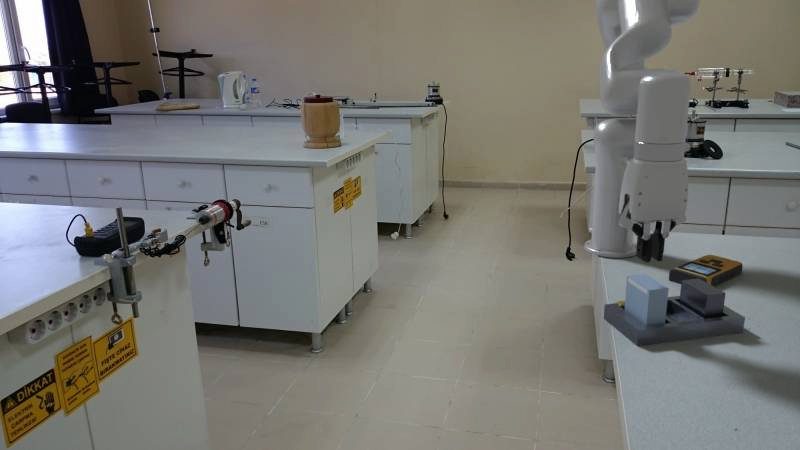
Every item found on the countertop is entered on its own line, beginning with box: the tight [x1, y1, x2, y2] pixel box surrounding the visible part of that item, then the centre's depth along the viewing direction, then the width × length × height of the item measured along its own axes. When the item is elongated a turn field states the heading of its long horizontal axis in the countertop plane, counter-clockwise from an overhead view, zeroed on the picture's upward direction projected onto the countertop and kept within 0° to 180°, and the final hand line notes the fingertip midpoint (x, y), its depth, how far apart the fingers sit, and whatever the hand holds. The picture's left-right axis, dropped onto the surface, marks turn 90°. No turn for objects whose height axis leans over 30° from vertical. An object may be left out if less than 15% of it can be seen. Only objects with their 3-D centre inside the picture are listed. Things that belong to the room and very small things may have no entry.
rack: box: [603, 279, 746, 347], centre depth 108 cm, size 11×20×7 cm, turn 101°
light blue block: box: [624, 273, 669, 326], centre depth 106 cm, size 7×4×8 cm, turn 10°
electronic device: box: [668, 254, 744, 287], centre depth 130 cm, size 8×16×3 cm, turn 126°
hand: (649, 258), depth 104 cm, fingers closed
